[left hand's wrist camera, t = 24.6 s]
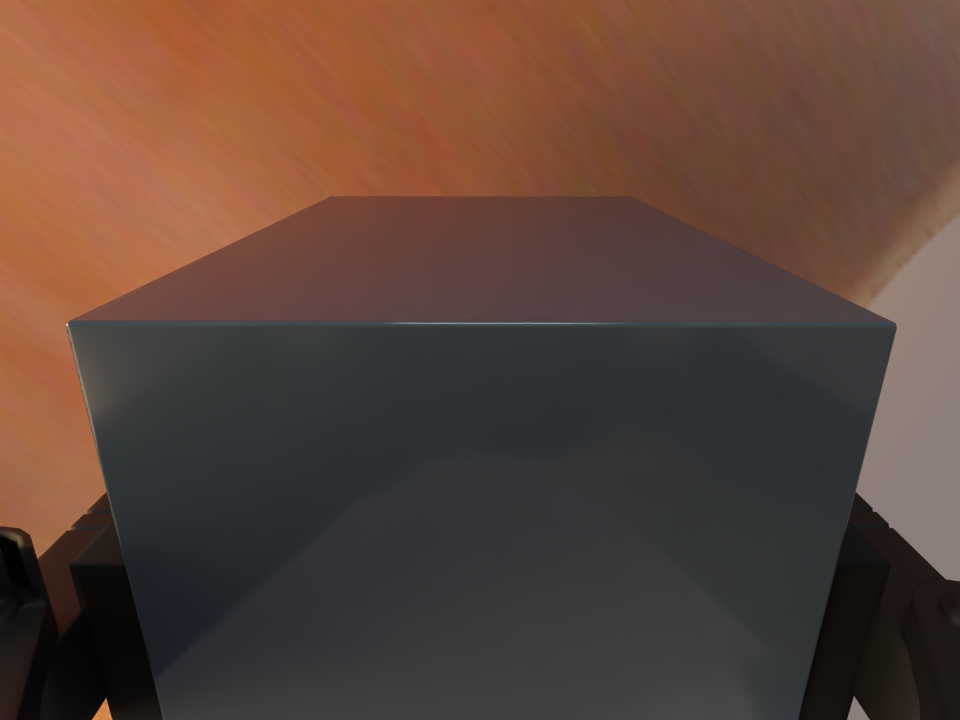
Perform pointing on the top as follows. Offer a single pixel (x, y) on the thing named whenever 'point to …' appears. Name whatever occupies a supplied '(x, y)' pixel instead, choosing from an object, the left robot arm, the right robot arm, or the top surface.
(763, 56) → the top surface
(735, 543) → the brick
